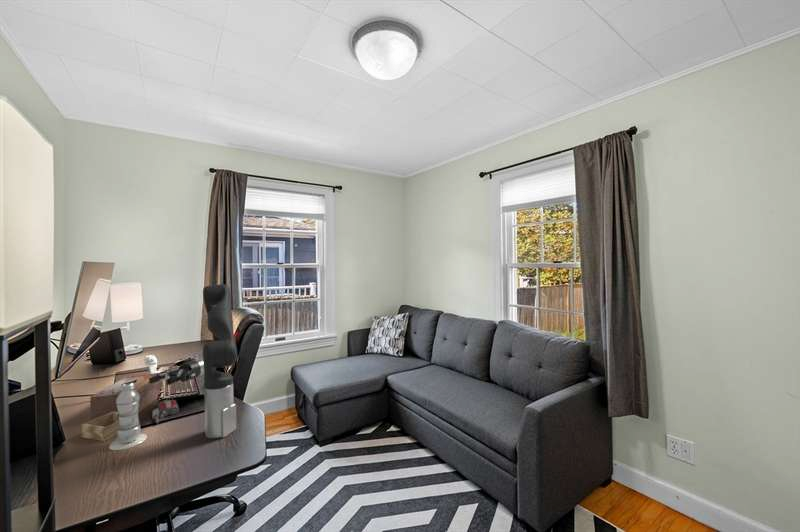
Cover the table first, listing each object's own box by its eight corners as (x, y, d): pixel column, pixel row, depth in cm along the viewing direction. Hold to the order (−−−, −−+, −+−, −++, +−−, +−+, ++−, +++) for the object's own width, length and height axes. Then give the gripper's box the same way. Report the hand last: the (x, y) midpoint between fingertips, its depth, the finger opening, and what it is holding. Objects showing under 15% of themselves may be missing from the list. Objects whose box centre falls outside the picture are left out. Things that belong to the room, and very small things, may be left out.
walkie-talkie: (151, 409, 140) (153, 427, 125) (150, 399, 140) (153, 415, 125) (175, 403, 146) (181, 419, 131) (175, 393, 146) (181, 408, 131)
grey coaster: (153, 436, 117) (153, 435, 117) (124, 452, 108) (124, 451, 108) (132, 433, 120) (132, 432, 120) (101, 448, 110) (101, 447, 110)
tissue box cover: (127, 396, 155) (127, 375, 155) (162, 393, 158) (162, 372, 158) (91, 422, 130) (90, 397, 130) (133, 417, 133) (132, 393, 133)
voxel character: (149, 382, 158) (143, 354, 163) (143, 392, 164) (138, 365, 169) (166, 378, 163) (160, 351, 169) (160, 388, 169) (154, 361, 175)
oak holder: (136, 426, 125) (135, 414, 125) (104, 441, 115) (104, 428, 115) (113, 423, 128) (113, 411, 128) (81, 437, 118) (80, 424, 118)
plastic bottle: (113, 447, 110) (111, 388, 109) (121, 438, 116) (119, 381, 116) (137, 443, 112) (135, 385, 112) (143, 434, 118) (142, 378, 118)
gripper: (181, 359, 143) (143, 370, 128) (207, 360, 140) (172, 372, 124) (181, 376, 143) (144, 390, 128) (208, 378, 140) (173, 392, 124)
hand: (158, 381), depth 126 cm, fingers open, 8 cm apart
